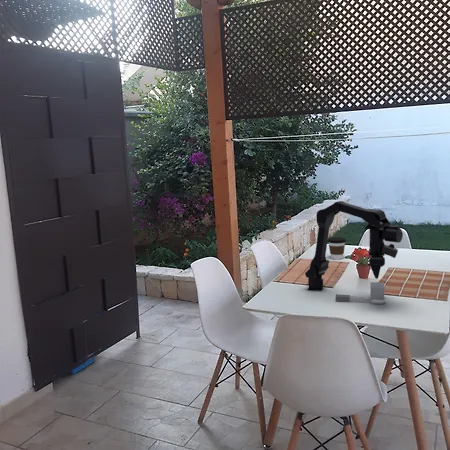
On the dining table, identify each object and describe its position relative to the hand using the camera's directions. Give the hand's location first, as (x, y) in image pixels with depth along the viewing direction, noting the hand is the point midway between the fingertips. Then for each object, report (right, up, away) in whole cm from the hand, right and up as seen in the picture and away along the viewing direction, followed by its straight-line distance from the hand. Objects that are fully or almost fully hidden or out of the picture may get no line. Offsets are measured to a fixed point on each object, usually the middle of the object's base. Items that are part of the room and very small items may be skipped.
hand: (376, 275), depth 201 cm
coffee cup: (+2, +1, +78) cm, 78 cm away
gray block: (+1, -10, +1) cm, 10 cm away
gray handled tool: (-6, -12, +4) cm, 14 cm away
